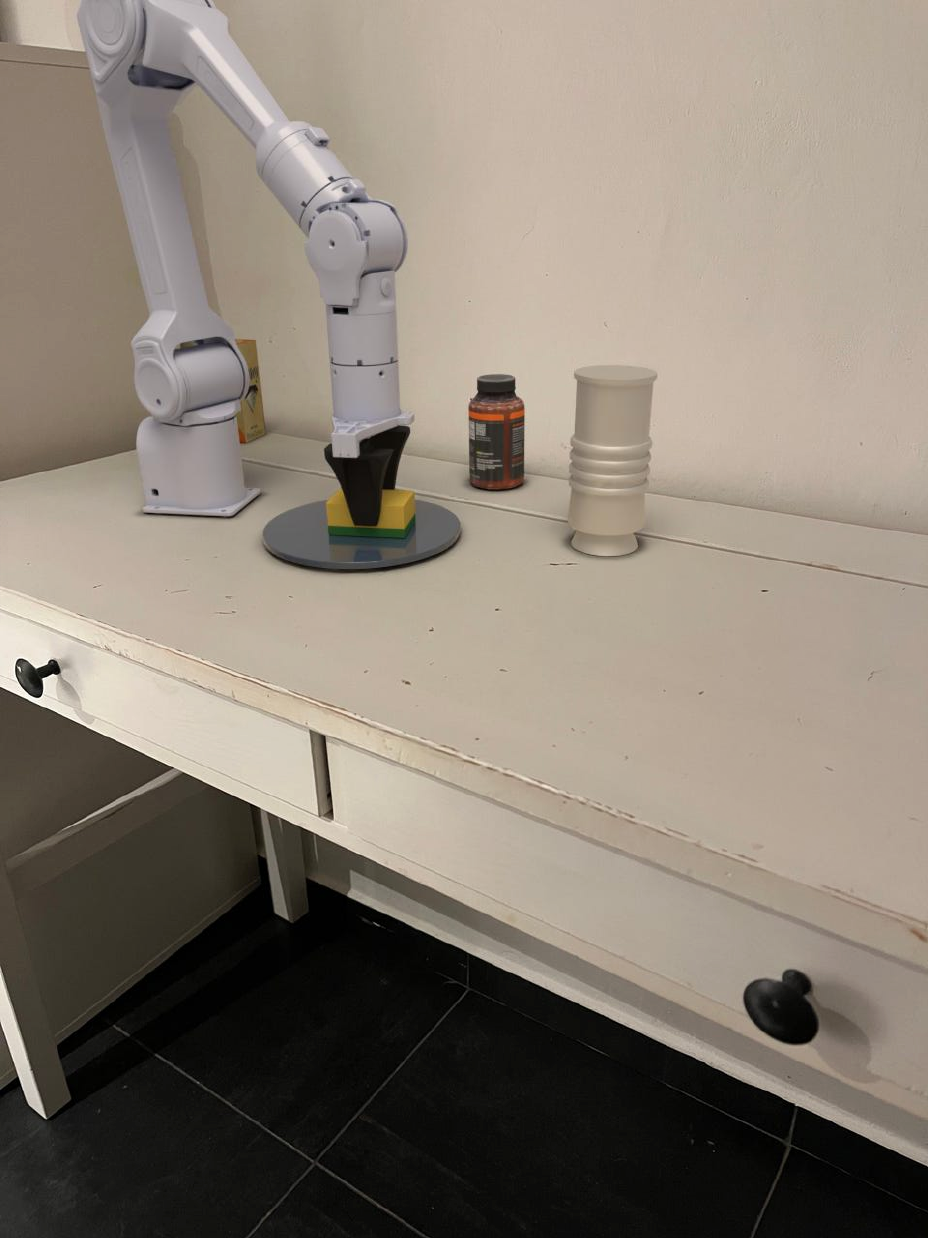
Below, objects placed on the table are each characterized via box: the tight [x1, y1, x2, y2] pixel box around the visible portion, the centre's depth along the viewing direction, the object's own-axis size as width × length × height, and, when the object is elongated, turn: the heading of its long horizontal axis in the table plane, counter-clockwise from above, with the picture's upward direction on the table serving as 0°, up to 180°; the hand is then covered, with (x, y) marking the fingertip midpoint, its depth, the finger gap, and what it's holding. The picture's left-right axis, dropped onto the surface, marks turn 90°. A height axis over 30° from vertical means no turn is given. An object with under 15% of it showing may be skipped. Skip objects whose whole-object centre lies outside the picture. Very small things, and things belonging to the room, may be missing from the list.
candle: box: [567, 364, 658, 557], centre depth 76 cm, size 7×7×15 cm
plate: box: [261, 498, 462, 570], centre depth 81 cm, size 18×18×1 cm
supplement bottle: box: [467, 373, 526, 491], centre depth 93 cm, size 6×6×11 cm
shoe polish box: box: [235, 338, 267, 444], centre depth 113 cm, size 5×5×12 cm
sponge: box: [326, 487, 416, 538], centre depth 79 cm, size 7×4×3 cm, turn 81°
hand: (373, 515), depth 80 cm, fingers closed on sponge, 4 cm apart
